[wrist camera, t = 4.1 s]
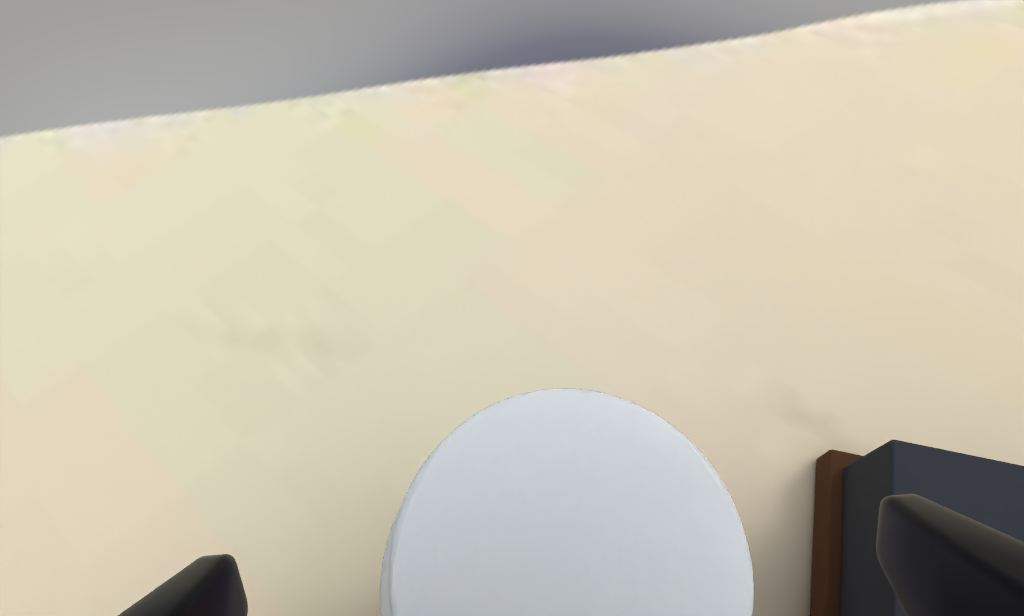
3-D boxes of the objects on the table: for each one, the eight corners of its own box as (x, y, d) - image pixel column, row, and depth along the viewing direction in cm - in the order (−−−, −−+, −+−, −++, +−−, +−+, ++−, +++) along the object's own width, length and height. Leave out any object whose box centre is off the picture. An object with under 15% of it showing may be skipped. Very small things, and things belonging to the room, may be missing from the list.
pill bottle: (402, 586, 16) (217, 532, 7) (564, 443, 17) (571, 253, 9) (550, 795, 14) (536, 1062, 5) (721, 614, 15) (936, 591, 7)
